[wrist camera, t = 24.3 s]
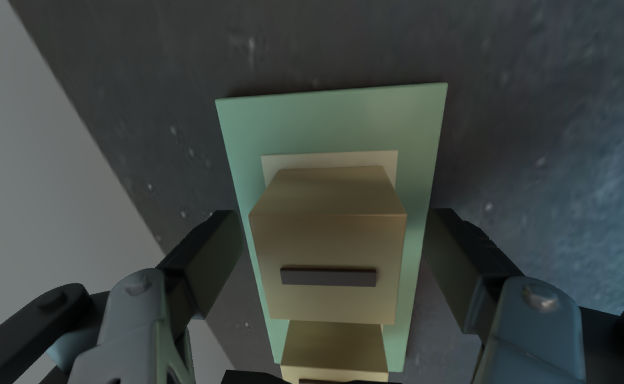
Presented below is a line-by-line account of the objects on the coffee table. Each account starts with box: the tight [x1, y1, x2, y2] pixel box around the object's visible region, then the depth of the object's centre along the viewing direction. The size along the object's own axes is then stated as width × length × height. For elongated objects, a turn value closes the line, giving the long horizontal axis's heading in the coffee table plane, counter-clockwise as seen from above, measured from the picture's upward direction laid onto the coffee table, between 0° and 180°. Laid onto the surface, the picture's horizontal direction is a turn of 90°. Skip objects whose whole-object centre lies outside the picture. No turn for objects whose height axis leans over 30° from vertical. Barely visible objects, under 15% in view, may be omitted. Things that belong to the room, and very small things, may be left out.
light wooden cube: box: [280, 320, 389, 384], centre depth 12 cm, size 4×4×4 cm
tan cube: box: [248, 166, 407, 325], centre depth 9 cm, size 4×4×4 cm
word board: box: [215, 82, 448, 372], centre depth 13 cm, size 9×18×1 cm, turn 4°
